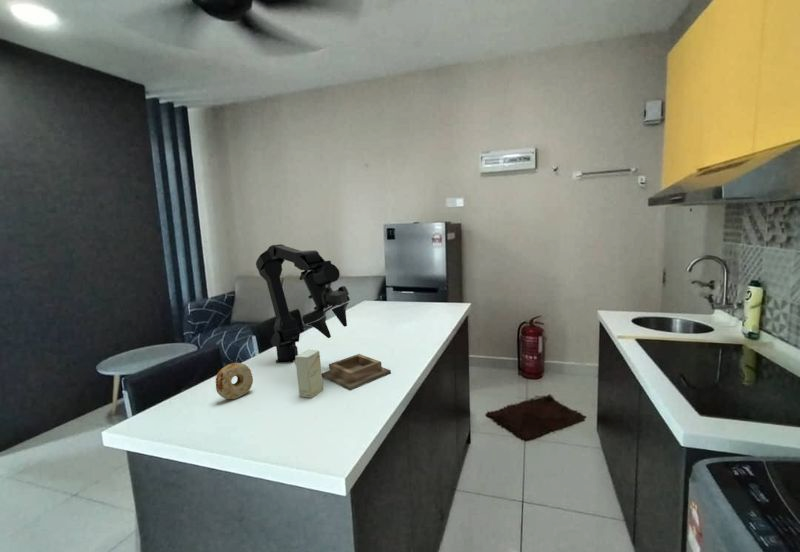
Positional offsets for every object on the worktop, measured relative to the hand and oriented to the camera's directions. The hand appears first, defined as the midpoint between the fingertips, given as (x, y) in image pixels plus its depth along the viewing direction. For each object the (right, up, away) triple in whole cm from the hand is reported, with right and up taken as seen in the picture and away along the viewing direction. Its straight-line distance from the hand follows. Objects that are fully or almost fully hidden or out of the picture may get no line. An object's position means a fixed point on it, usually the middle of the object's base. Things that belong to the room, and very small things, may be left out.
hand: (337, 331), depth 124 cm
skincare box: (-6, -16, -12) cm, 21 cm away
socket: (+6, -14, -1) cm, 15 cm away
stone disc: (-28, -18, -12) cm, 35 cm away
